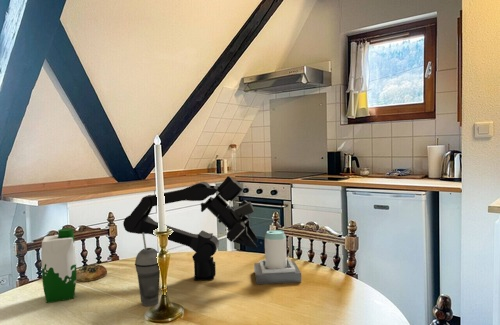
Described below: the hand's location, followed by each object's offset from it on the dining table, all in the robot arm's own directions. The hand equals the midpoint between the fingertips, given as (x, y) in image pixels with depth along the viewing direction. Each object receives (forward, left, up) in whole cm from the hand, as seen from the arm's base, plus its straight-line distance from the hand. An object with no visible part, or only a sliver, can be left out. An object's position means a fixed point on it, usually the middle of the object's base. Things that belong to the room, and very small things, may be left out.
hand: (256, 244), depth 122 cm
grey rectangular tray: (+6, -1, -11) cm, 13 cm away
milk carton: (-60, -9, -11) cm, 61 cm away
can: (+6, -1, -8) cm, 10 cm away
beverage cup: (-32, -17, -11) cm, 38 cm away
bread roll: (-57, +8, -11) cm, 59 cm away
